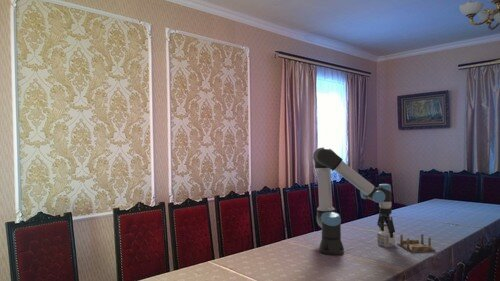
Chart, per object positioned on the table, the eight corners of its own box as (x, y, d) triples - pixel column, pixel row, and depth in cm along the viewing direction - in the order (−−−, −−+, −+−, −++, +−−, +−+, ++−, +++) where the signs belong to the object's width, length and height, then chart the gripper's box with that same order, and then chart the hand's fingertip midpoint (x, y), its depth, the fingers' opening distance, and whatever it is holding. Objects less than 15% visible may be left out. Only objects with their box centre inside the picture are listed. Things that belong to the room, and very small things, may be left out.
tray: (410, 252, 211) (409, 239, 211) (397, 244, 227) (396, 233, 227) (435, 251, 212) (434, 239, 212) (420, 243, 228) (420, 232, 228)
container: (377, 243, 230) (376, 224, 230) (386, 242, 232) (386, 223, 232) (385, 246, 222) (385, 226, 223) (395, 245, 225) (394, 225, 225)
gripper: (400, 210, 215) (401, 244, 215) (382, 204, 240) (382, 234, 240) (388, 211, 215) (389, 245, 215) (371, 204, 240) (372, 234, 240)
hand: (386, 239), depth 227 cm, fingers open, 13 cm apart
